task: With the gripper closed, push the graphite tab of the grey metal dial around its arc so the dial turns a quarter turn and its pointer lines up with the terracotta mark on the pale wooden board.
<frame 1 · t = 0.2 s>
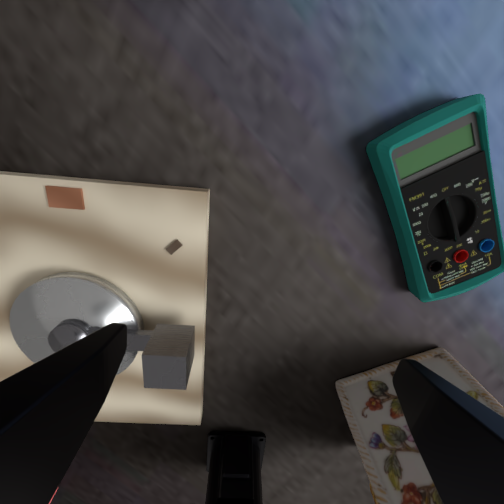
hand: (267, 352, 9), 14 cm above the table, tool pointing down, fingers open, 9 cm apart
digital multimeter: (427, 206, 22), on the table
dial: (97, 345, 21), point 4 cm above the table, hinge at -90.0°
decorative jar: (394, 397, 30), on the table
dial board: (95, 313, 24), on the table
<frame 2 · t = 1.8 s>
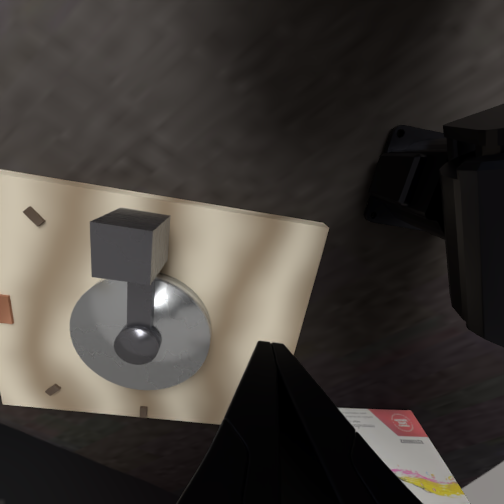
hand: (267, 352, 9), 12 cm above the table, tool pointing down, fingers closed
dial: (135, 322, 18), point 4 cm above the table, hinge at -90.0°
ink cartridge box: (364, 421, 28), on the table
dial board: (153, 315, 22), on the table
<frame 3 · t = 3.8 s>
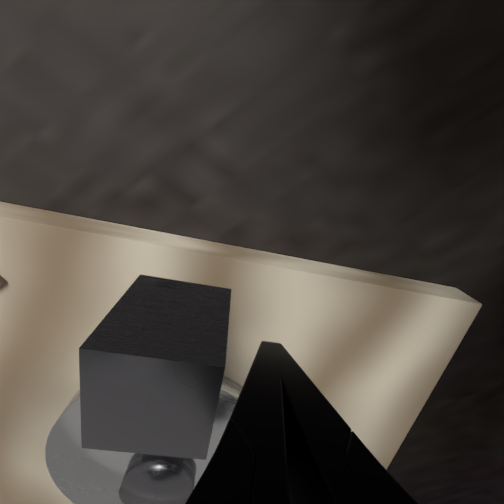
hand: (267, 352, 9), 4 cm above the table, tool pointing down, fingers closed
dial: (159, 463, 10), point 4 cm above the table, hinge at -89.2°, touching gripper
dial board: (177, 408, 15), on the table
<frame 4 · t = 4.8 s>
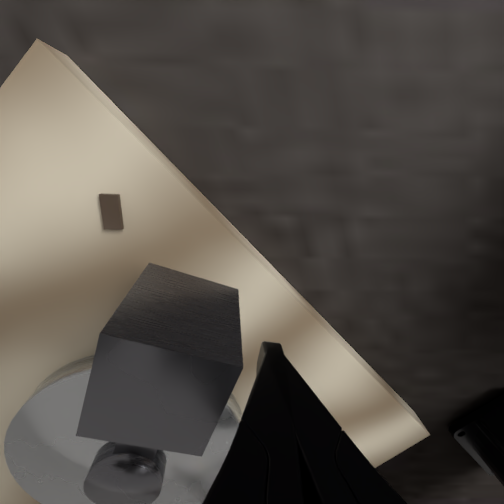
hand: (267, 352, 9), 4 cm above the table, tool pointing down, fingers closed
dial: (134, 456, 10), point 4 cm above the table, hinge at -63.0°, touching gripper
dial board: (150, 401, 15), on the table
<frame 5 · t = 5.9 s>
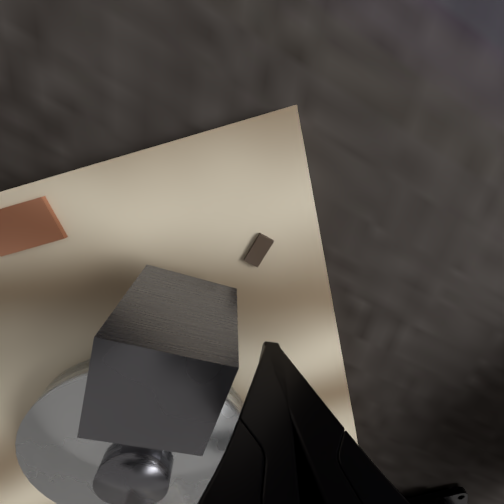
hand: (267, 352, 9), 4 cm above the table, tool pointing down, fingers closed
dial: (140, 455, 10), point 4 cm above the table, hinge at -34.0°, touching gripper
dial board: (156, 400, 15), on the table
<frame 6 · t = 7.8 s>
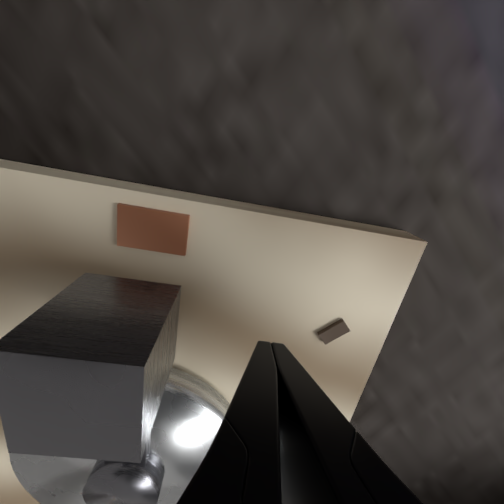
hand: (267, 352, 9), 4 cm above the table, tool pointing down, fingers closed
dial: (118, 465, 10), point 4 cm above the table, hinge at 0.6°
dial board: (151, 408, 15), on the table
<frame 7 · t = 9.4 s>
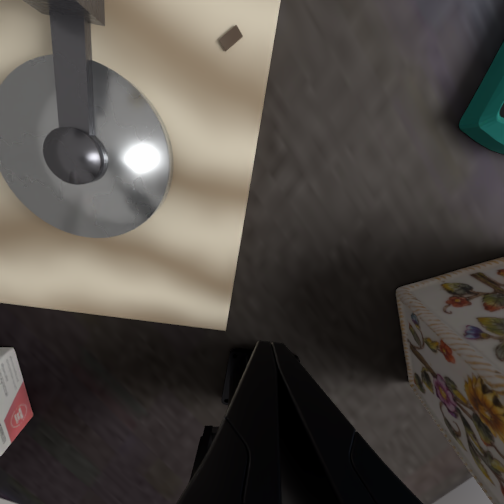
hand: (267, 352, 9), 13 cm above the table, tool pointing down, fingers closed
dial: (66, 111, 14), point 4 cm above the table, hinge at 0.7°
ink cartridge box: (2, 379, 25), on the table
decorative jar: (460, 320, 25), on the table
dial board: (106, 155, 18), on the table
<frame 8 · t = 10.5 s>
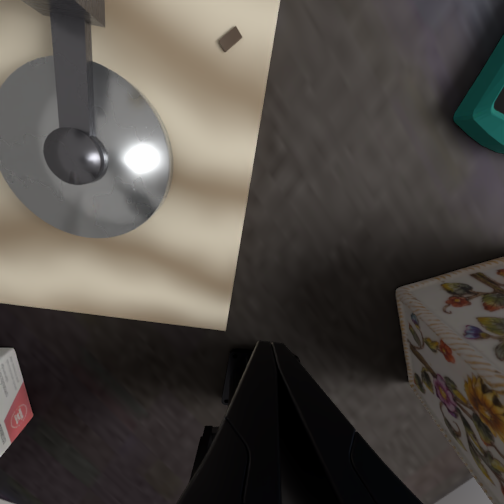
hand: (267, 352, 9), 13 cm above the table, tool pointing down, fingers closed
dial: (67, 111, 14), point 4 cm above the table, hinge at 0.7°
ink cartridge box: (2, 380, 25), on the table
decorative jar: (459, 320, 25), on the table
dial board: (106, 156, 19), on the table
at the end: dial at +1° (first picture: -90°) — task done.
